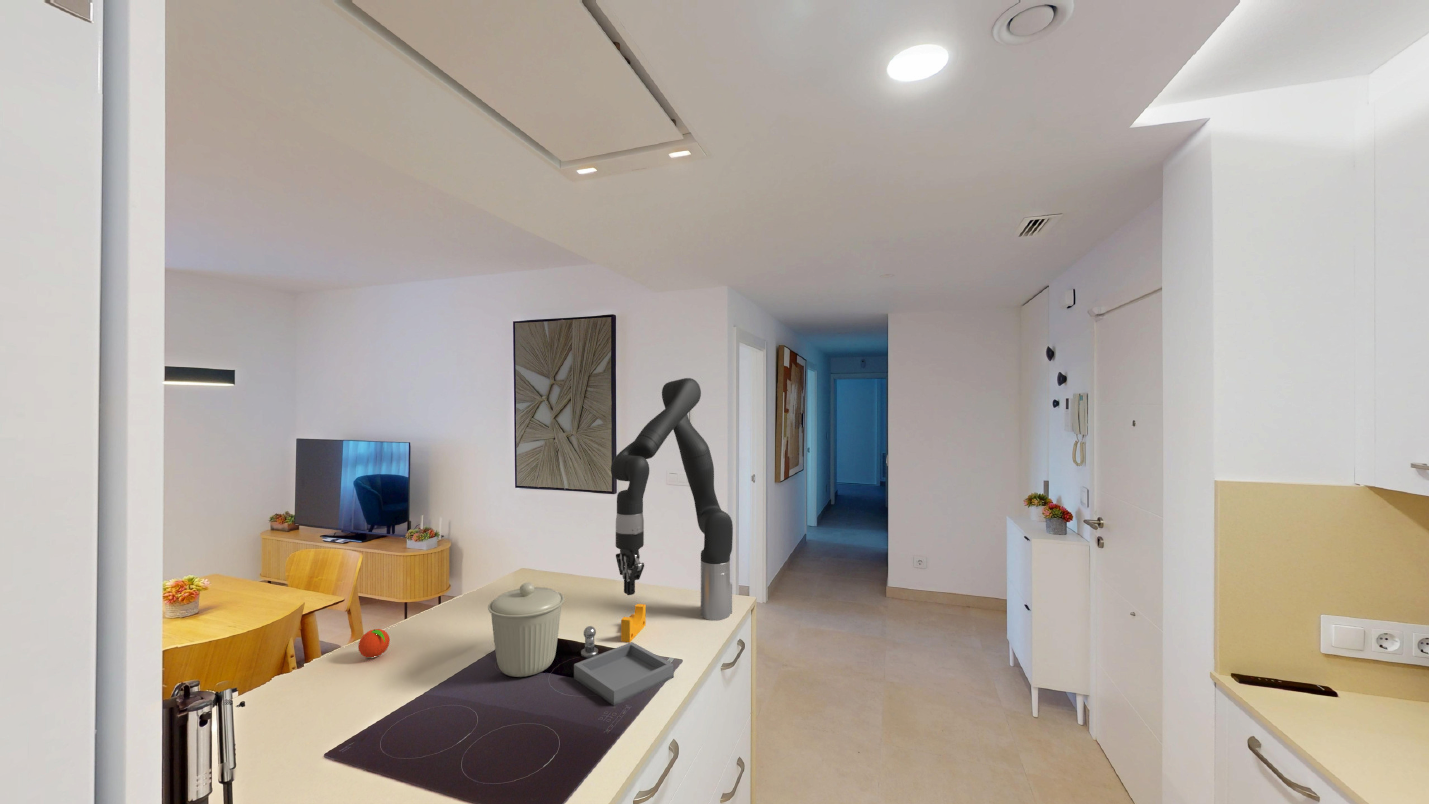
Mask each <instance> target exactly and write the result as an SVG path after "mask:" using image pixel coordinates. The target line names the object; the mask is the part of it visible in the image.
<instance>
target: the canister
mask: <svg viewBox="0 0 1429 804" xmlns="http://www.w3.org/2000/svg"><path fill="white" fill-rule="evenodd" d="M564 602H565V596H564V594H562V593H560V592H558V591H557V590H555V589H552V588H548V587H540V586H537V587H536V586H535V585H534V584H533V583H532V582H524V583H523V584H521V585H520V587H519V588H516V589H514V590H510V591H507V592H505V593H502V594H500V595H498V597H496V598H495V599H493V600H492V601H490V602H489V604H488V606H487V610H488V612H489V613H490V615H491V624H492V632H493V642H494V650H495V656H496V662H497V665H498V668H499V670H500V671H501V672H502V673H503V674H504V675H507V676H509V677H514V678H516V677H517V678H523V677H525V678H526V677H529V676H534V675H537V674H540V673H542V672H544V671H545V670H547V669H548V668H549V667H550V666H551V665H552V663H553V661H554V659H555V658H556V654H557V653H556V652H557V646H558V637H559V630H560V620H561V614H562V605H563V604H564Z"/></svg>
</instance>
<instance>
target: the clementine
mask: <svg viewBox="0 0 1429 804" xmlns="http://www.w3.org/2000/svg"><path fill="white" fill-rule="evenodd" d="M376 634H377V635H376ZM390 640H391V639H390V635H389V633H388V632H386V630H383V629H380V628H374V629H370V630H369V631H367V632H365V633H364V634H363V635H362V637H360V640H359V642H358V651H359V653H360V655H361V656H363V657H365V658H367V657H374V656H378V655H380V656H381V655H383V654H384V653H385V652H386V651H387V650H388V648H389V647H390V646H389V645H390V642H391V641H390ZM382 653H383V654H382ZM378 657H379V656H378ZM374 658H375V657H374Z"/></svg>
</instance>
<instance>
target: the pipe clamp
mask: <svg viewBox="0 0 1429 804" xmlns="http://www.w3.org/2000/svg"><path fill="white" fill-rule="evenodd" d="M646 608H647V605H646V604H642V603H637V604H636V605H634V613H631V614H630V616H623V617H622V618H621V620H620V624H621V625H620V636H621V637H620V638H621V639H620V642H621V643H627V644H628V643H630V642H633V640H634V639H635V638H636V637H637V635H638V634H640V632H642V630H643V629H644V628H645V627H646V621H647V619H646V616H647V615H646V614H647V613H646Z"/></svg>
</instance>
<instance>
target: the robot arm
mask: <svg viewBox="0 0 1429 804" xmlns="http://www.w3.org/2000/svg"><path fill="white" fill-rule="evenodd" d="M701 390H702V389H701V387H700V384H699V383H698V381H697V380H696V379H694V378H691V377H685V378H680V379H676V380H673V381H672V380H671V381H668V382H666V383H664V385H663V387H662V388H661V398H662V403H663V406H664V409H663V410H662V411H661V412H660V413H657V415H656V416H655V417H653V418H652V419H650V421H648V423H647V424H646V425H645V426H644V427H643V428H642V429H641V431H640V432H639V433H638V435H637V436H636V438H635V439H634V440H633V441H632V442H631V443H629V444H628V445H627V446H626V447H624V448H623V449H622V450H621V451H619V452H618V454H616V456H615V457H614V458H613V460H612V462H611V465H610V472H611V473H610V474H611V475H612V477H613V478H614V479H615V480H617V481H620V482H628V486H627V489H624V490H620V491H618V493H617V496H616V518H615V547H616V548H617V549H618V550H619V553H616V554H615V559H616V562H617V563H616V564H617V567H618V572H619V575H620V576H622V579H623V592H624V594H626V595H627V596H632V595H635V593H636V581H638V580H640V579H641V576H642V573H643V571H644V568H645V562H641V561H640V557H641V556H640V555H641V554H640V552H639V551H640V549H642V548H643V547H644V545H645V542H644V541H645V538H644V537H645V535H644V534H645V532H644V529H645V525H644V524H645V523H644V522H645V520H644V495H645V492H646V487H647V483H648V480H649V475H650V465H649V462H648V460H649V459H652V458H653V457H655V455H656V454H657V453H658V451H659V449H660V448H661V446H662V445H663V444H664V442H665V441H666V440H667V438H668V436H669V435H670V434H671V432H673V433H674V435H675V436H674V437H675V441H676V442H677V446H678V449H679V454H680V459H681V461H682V465H683V468H684V469H683V470H684V472H685V474H686V479H687V483H688V486H689V488H690V491H691V493H692V496H693V497H692V498H693V502H694V508H695V512H696V520H697V525H698V528H699V530H700V531H701V532H702V533H703V534H704V537H703V538H704V541H703V548H702V550H701V551H700V616H701V618H703V619H706V620H708V621H722V620H725V619H727V618H729V617H730V615H731V614H733V583H732V582H731V567H730V566H731V554H732V551H733V534H734V533H733V532H734V530H733V529H734V526H733V525H734V524H733V520H732V517H731V516H730V515H729V513H727V512H725V511H724V510H722V508H721V506H720V503H719V502H718V498H717V495H716V491H715V468H714V462H713V458H712V454H711V450H710V447H709V445H708V443H707V441H706V440H705V439H704V437H703V436H702V435H701V434H700V433H699V432H698V431H697V429H696V428H695V427H694V426H693V424H692V422H691V421H690V418H689V415H688V414H689V413H690V412H691V411H692V409H694V408H695V407H696V406H697V404H698V403H699V402H700V399H701V396H702V391H701Z"/></svg>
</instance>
